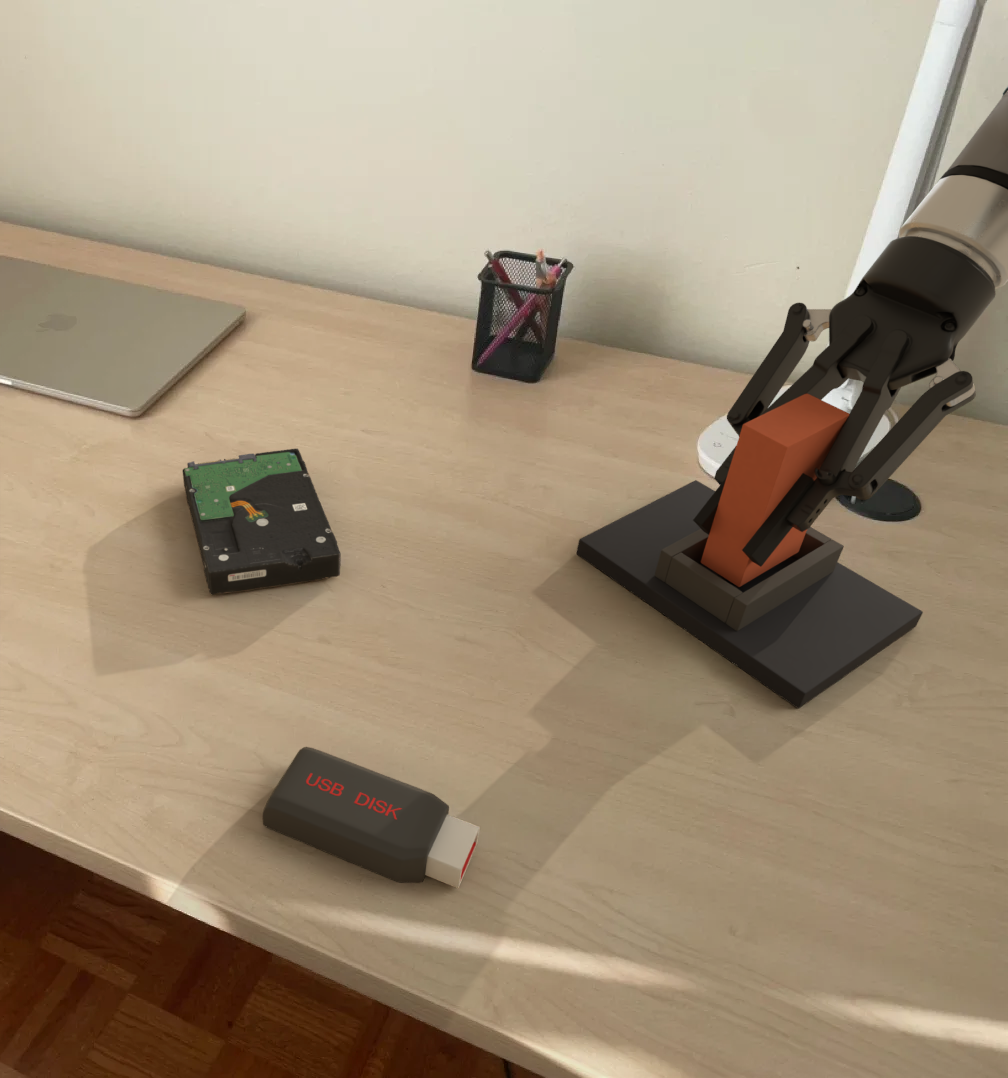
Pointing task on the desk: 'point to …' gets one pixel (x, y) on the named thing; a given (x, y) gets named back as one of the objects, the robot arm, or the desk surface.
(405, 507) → the desk surface
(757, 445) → the orange rectangular block
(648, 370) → the desk surface
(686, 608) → the socket base
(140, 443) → the desk surface
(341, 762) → the usb drive
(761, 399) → the robot arm
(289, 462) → the disk drive
